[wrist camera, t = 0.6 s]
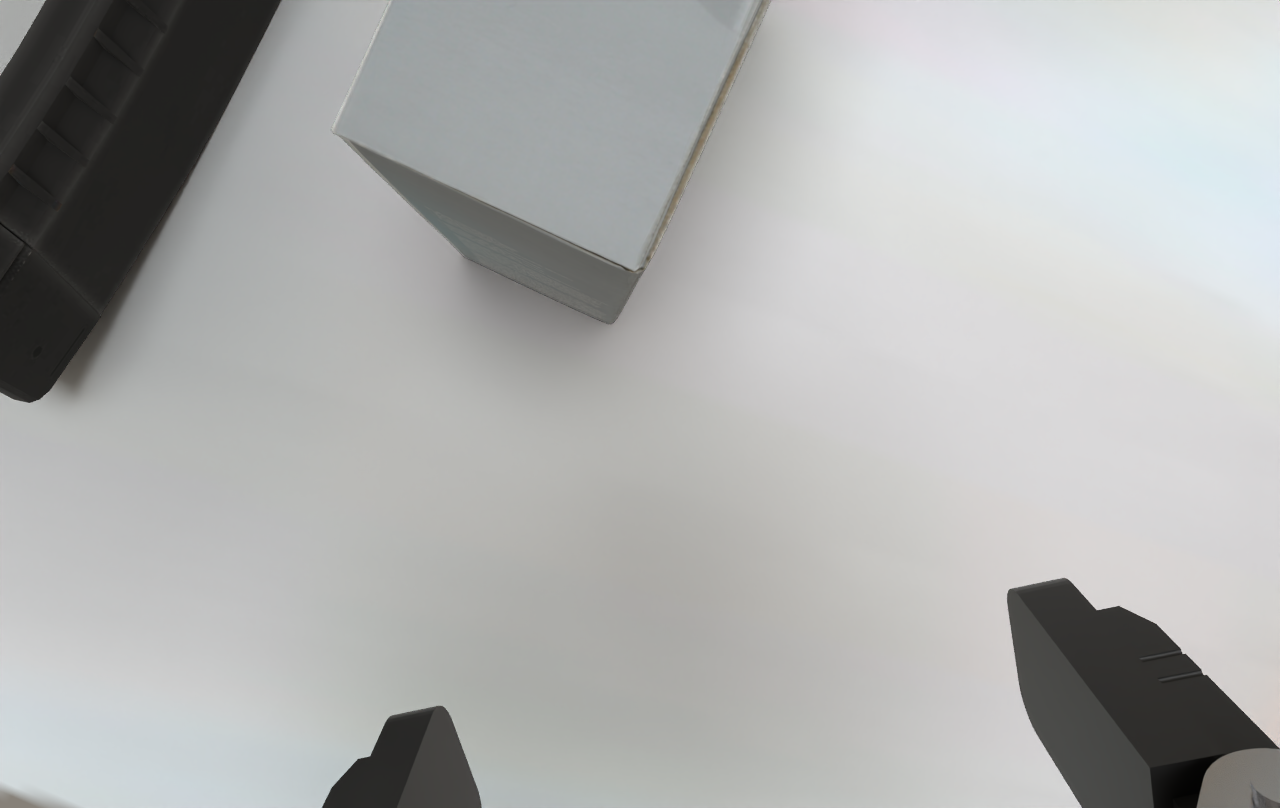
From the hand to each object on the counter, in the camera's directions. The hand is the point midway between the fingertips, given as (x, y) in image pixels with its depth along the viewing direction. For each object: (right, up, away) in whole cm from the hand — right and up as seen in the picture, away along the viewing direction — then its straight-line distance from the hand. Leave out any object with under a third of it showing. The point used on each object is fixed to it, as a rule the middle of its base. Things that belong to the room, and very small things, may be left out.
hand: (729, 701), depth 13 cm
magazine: (-19, +19, +25) cm, 37 cm away
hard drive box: (-3, +16, +27) cm, 31 cm away
